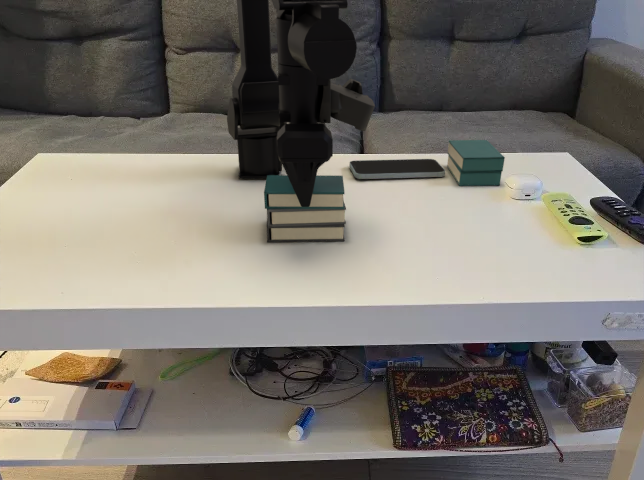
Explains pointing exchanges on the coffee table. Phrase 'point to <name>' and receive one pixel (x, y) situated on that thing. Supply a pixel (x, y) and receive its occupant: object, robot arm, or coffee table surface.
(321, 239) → the grey book
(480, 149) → the teal book
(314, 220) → the grey book
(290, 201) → the teal book
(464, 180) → the teal book
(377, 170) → the smartphone
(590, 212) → the coffee table surface
